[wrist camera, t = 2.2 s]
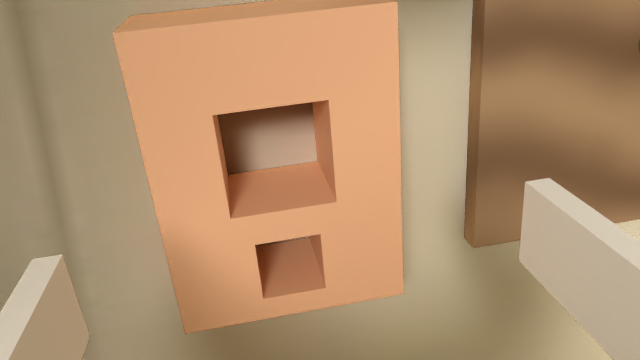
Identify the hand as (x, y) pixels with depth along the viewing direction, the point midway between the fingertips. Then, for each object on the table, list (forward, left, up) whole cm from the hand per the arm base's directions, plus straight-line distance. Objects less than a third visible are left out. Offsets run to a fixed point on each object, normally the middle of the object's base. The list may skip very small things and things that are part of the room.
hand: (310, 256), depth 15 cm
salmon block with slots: (+1, 0, -11) cm, 11 cm away
